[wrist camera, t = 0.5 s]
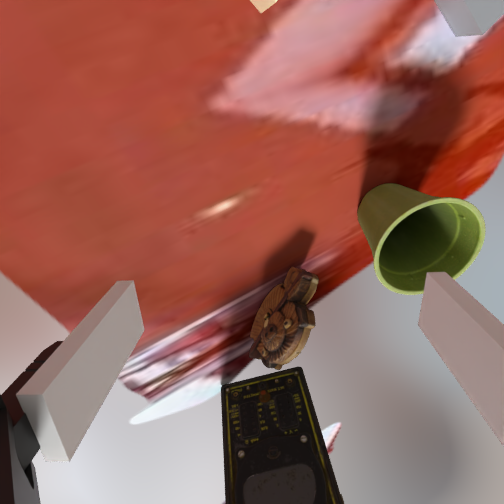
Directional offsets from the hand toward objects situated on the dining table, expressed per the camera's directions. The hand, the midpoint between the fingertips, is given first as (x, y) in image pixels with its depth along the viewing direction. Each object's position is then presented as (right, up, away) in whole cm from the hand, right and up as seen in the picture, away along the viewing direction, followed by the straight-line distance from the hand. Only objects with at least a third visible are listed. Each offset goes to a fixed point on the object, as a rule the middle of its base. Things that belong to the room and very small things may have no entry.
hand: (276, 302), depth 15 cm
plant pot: (+16, +8, +29) cm, 34 cm away
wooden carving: (+2, -5, +35) cm, 36 cm away
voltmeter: (+1, -22, +46) cm, 51 cm away
